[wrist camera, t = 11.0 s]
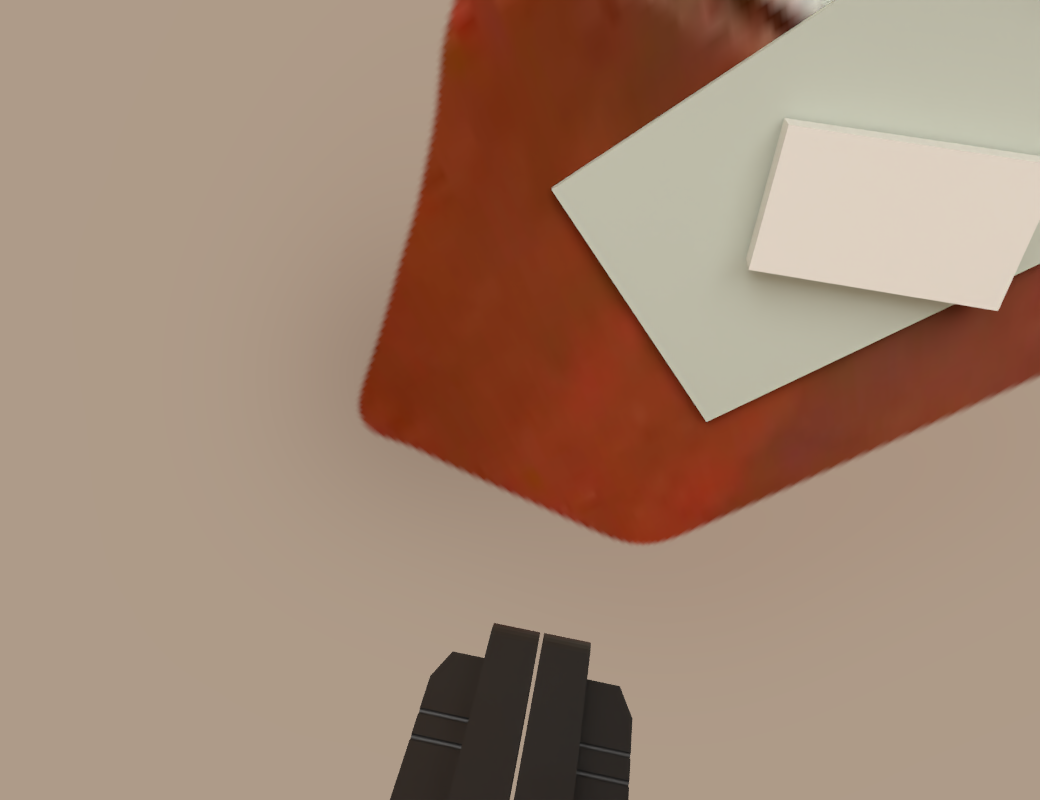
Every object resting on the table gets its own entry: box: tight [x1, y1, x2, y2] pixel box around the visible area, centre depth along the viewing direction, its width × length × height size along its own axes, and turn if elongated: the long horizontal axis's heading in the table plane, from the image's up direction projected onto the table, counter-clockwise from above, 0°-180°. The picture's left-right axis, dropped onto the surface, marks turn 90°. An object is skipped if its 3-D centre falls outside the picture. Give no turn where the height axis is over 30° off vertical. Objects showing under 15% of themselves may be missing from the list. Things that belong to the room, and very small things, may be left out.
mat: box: [552, 0, 1040, 422], centre depth 39 cm, size 16×24×1 cm, turn 125°
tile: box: [746, 118, 1040, 311], centre depth 38 cm, size 2×7×12 cm
